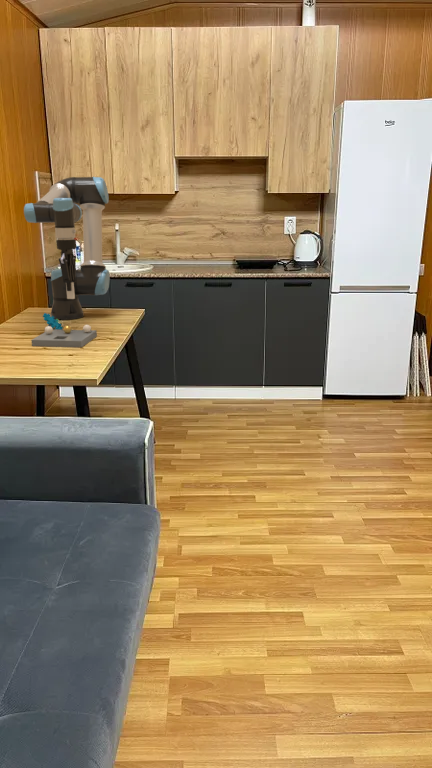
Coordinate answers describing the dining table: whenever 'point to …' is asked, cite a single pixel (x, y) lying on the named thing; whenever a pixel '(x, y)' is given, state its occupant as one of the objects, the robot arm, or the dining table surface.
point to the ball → (67, 329)
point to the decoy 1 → (48, 330)
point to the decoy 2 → (87, 328)
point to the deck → (64, 338)
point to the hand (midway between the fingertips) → (71, 298)
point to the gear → (52, 322)
